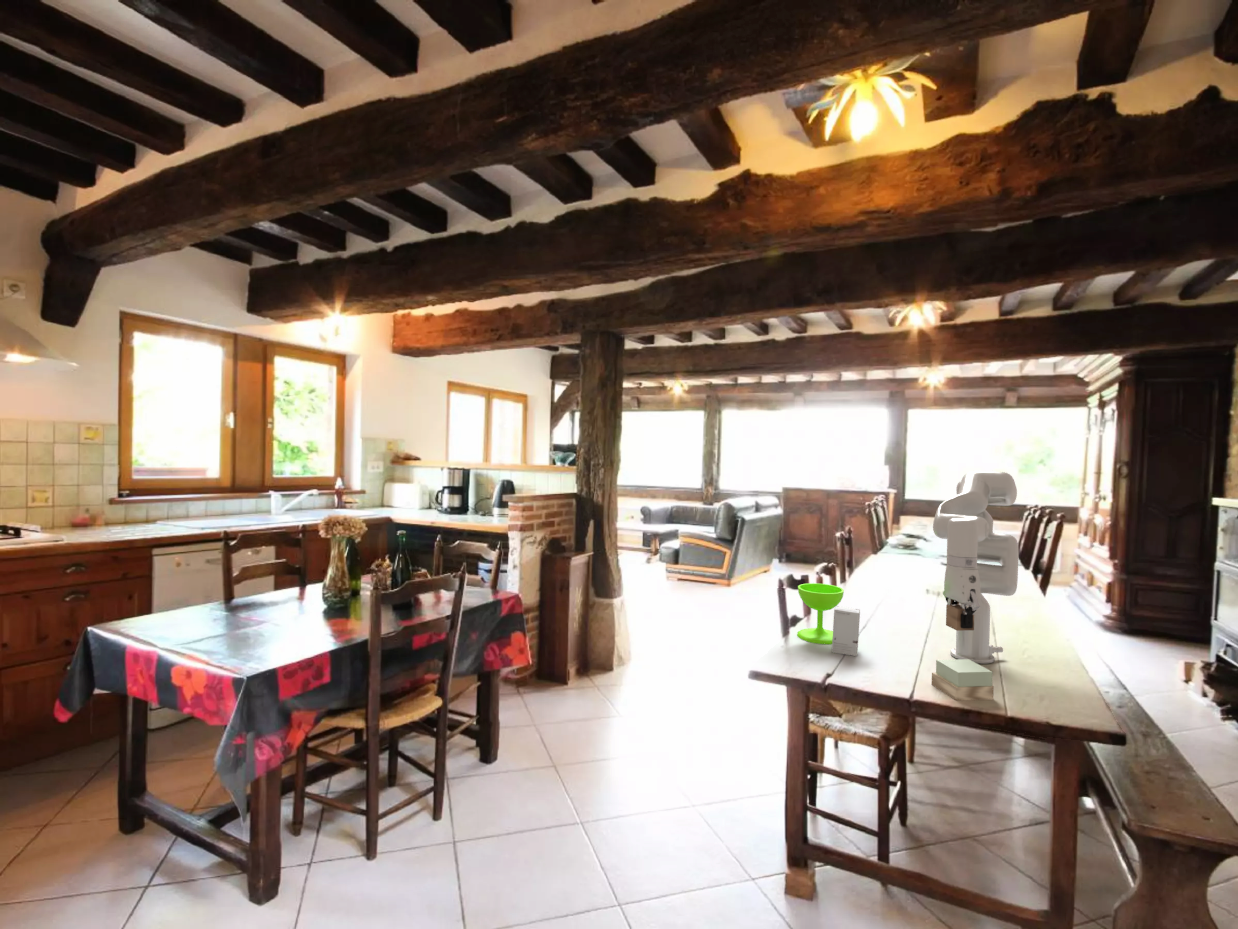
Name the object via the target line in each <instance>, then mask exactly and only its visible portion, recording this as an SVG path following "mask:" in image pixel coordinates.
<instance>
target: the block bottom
mask: <svg viewBox="0 0 1238 929" xmlns="http://www.w3.org/2000/svg"><path fill="white" fill-rule="evenodd" d="M931 685H932V686H933V687H935V688H936V689H938V690H939V691H941V692H942V693H943V694H945V695H947V696H949V697H950V698H951V699H953V700H955V701H977V700H978V701H979V700H980V701H984V700H994V690H995V687H994V686H993V685H992V686H974V687H957V686H956V685H954V684H952V683H951V682H949V681H948V680H946V679H944V678H943V677H941V676H939V675H938V674H936V671H935V672H931Z"/></svg>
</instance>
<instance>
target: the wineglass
mask: <svg viewBox="0 0 1238 929" xmlns="http://www.w3.org/2000/svg"><path fill="white" fill-rule="evenodd" d="M797 591H798V592H797V593H798V594H799V597H800V599H801V600H802V602H803V603H804V604H805V605H806V606H807V607H809V608H810V609H812V610H815V611H817V613H816V614H817V615H816V616H817V617H816V618H817V620H816V621H817V622H816V627H811V628H808V627H807V628H802V629H800V630H799V631H798V632H797V634H796V636H797V638H799V639H800V640H802V641H804V642H808V643H812V644H818V645H832V639H833V630H829V629H825V628H824V627H823V626H824V624H823V623H824V619H823V618H824V612H825V611H830V610H832V609H835V606H838V605H839V604H840V603H841V601H842V599H843V597H844V591H845V589H844V588H842V587H840V586H838V585H833V584H826V583H819V582H818V583H814V582H813V583H812V582H811V583H808V582H807V583H803V584H799V585H797Z"/></svg>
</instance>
